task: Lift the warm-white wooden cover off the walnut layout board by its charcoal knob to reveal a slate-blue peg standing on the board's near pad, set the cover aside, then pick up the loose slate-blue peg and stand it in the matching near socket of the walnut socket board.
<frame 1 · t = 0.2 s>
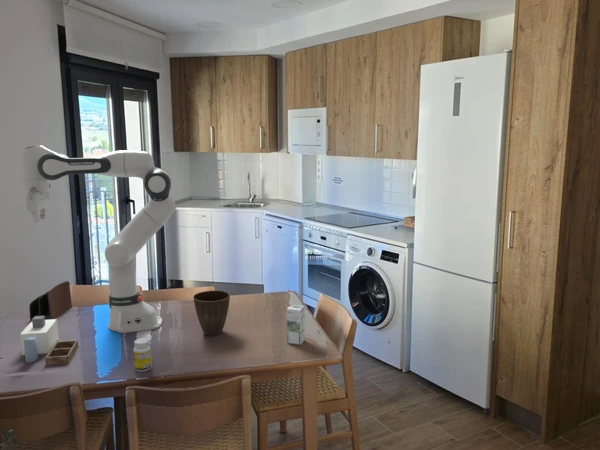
hand: (39, 220, 212), 47 cm above the table, tool pointing down, fingers open, 8 cm apart
syrup box: (296, 342, 207), on the table
plant pot: (213, 333, 217), on the table
supplement bottle: (143, 368, 183), on the table
layout board: (41, 348, 201), on the table
letter holder: (51, 314, 242), on the table
cover: (41, 346, 201), point 1 cm above the table, touching layout board
peg: (32, 362, 189), on the table
socket board: (63, 358, 192), on the table
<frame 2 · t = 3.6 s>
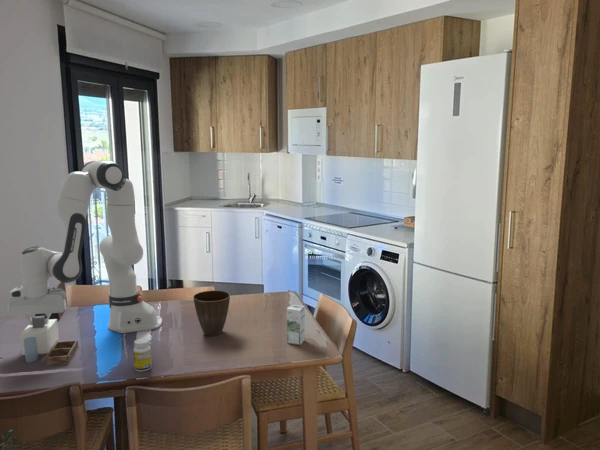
hand: (39, 324, 200), 10 cm above the table, tool pointing down, fingers closed on cover, 3 cm apart
cover: (41, 346, 201), point 1 cm above the table, touching gripper, layout board
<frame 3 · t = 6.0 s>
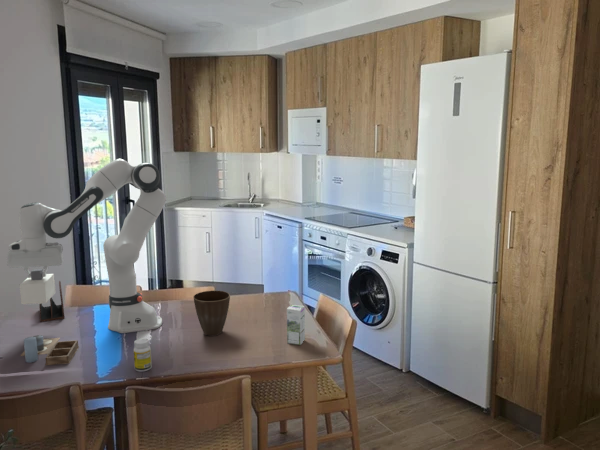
hand: (37, 277, 210), 25 cm above the table, tool pointing down, fingers closed on cover, 3 cm apart
cover: (39, 298, 211), point 16 cm above the table, touching gripper
when the fingers open (11 cm above the table, at t = 8.3 s): cover drops 2 cm, on the table.
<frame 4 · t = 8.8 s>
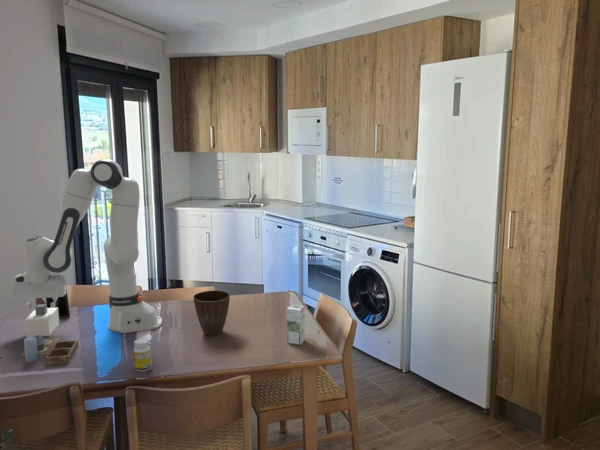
hand: (40, 307, 217), 11 cm above the table, tool pointing down, fingers open, 8 cm apart
cover: (43, 332, 219), on the table
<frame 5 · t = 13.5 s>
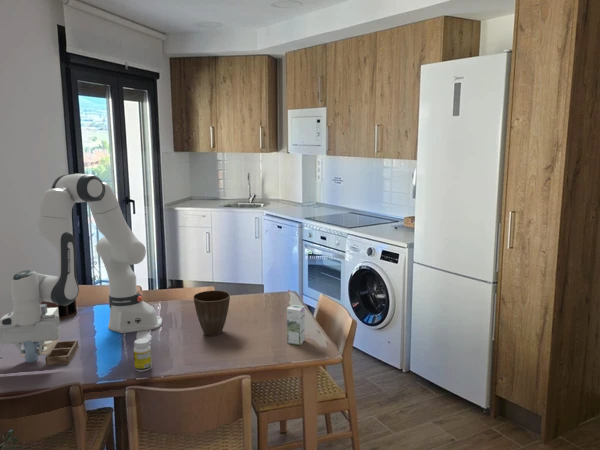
hand: (31, 353, 188), 4 cm above the table, tool pointing down, fingers closed on peg, 4 cm apart
peg: (32, 362, 189), on the table, touching gripper
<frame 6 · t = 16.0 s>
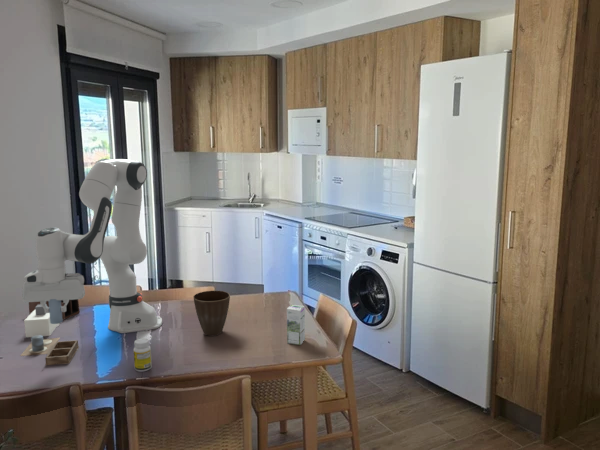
hand: (55, 312, 186), 19 cm above the table, tool pointing down, fingers closed on peg, 4 cm apart
peg: (56, 321, 186), point 15 cm above the table, touching gripper
when the fingers open (6 cm above the table, at t = 18.8 s): peg drops 1 cm, resting on socket board.
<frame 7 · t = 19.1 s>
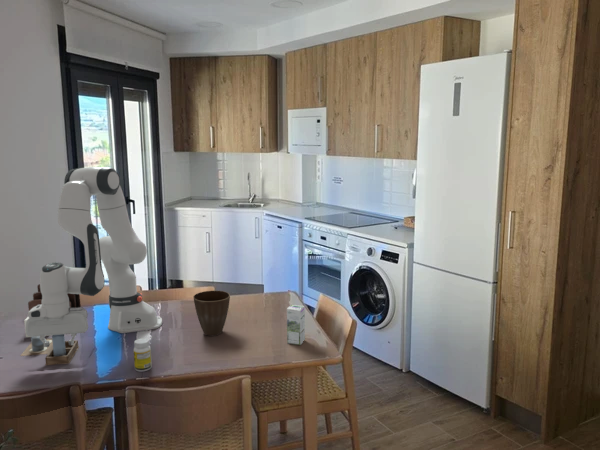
hand: (59, 345, 188), 6 cm above the table, tool pointing down, fingers open, 7 cm apart
peg: (60, 359, 189), point 1 cm above the table, touching socket board
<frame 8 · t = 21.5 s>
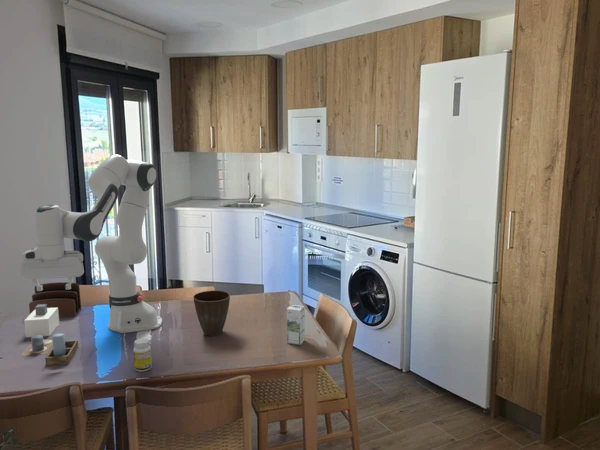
hand: (54, 289, 184), 27 cm above the table, tool pointing down, fingers open, 8 cm apart
at the end: peg inside the target area on the socket board (0.0 cm from its centre), point 1.2 cm above the socket board's base; peg tilted 0°; cover moved 19.5 cm from its start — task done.
